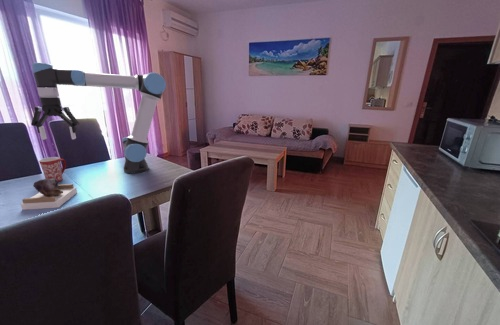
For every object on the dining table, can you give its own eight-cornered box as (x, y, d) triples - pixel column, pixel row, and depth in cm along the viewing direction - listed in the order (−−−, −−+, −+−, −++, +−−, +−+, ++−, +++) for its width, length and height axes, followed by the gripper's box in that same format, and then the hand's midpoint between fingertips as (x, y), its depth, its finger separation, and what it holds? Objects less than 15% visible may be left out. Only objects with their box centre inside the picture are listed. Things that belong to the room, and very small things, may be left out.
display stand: (77, 192, 117) (75, 183, 115) (58, 207, 102) (55, 197, 100) (46, 194, 114) (43, 185, 113) (22, 209, 99) (19, 199, 98)
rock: (63, 190, 115) (36, 195, 108) (59, 174, 113) (32, 178, 107) (63, 195, 106) (34, 200, 99) (60, 177, 104) (30, 182, 98)
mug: (52, 184, 126) (46, 162, 122) (40, 182, 128) (34, 160, 124) (74, 177, 137) (69, 156, 133) (63, 175, 140) (58, 154, 136)
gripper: (81, 97, 116) (89, 137, 123) (25, 96, 112) (36, 138, 118) (73, 97, 109) (82, 140, 116) (13, 96, 105) (26, 140, 111)
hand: (59, 139), depth 117 cm, fingers open, 13 cm apart
